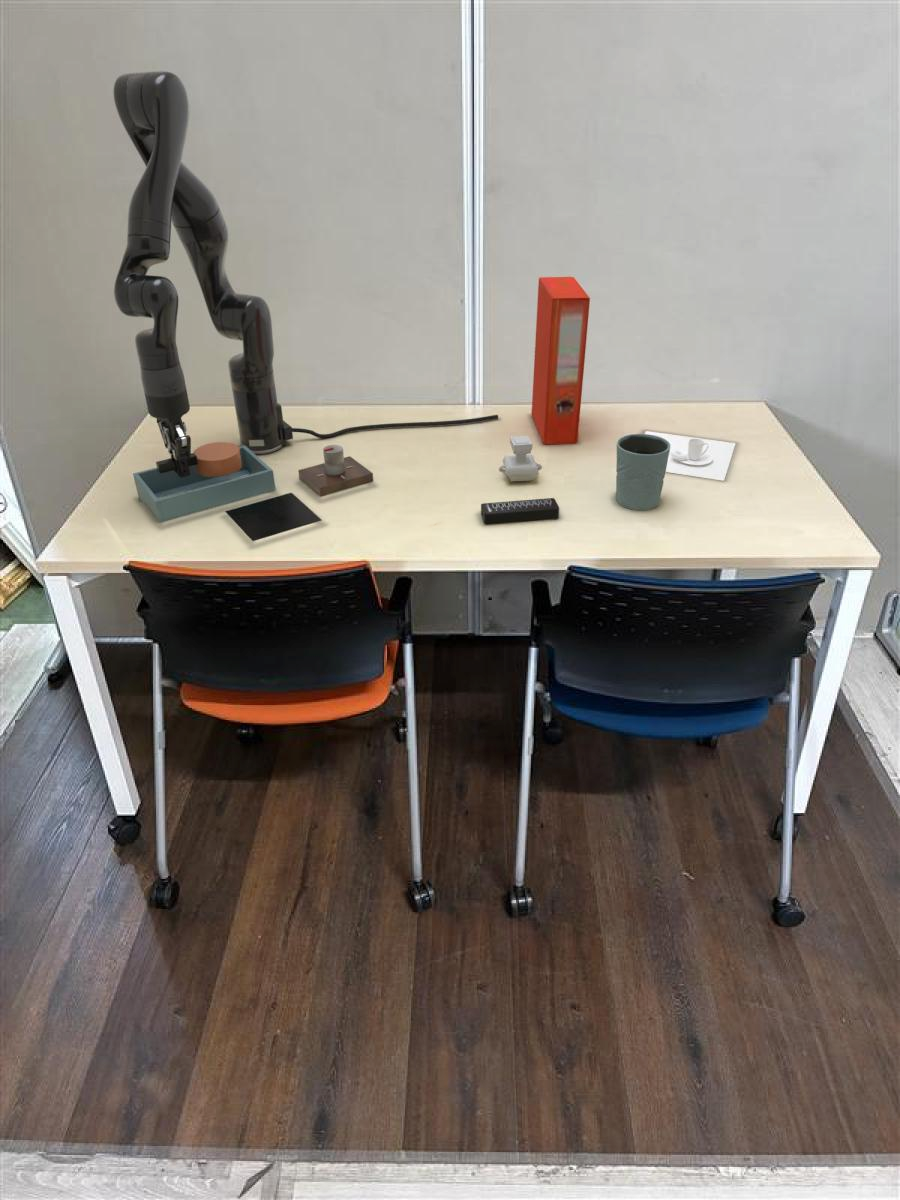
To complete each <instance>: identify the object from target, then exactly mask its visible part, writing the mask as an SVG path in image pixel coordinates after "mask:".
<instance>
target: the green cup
mask: <svg viewBox="0 0 900 1200" xmlns="http://www.w3.org/2000/svg"><path fill="white" fill-rule="evenodd" d="M669 452H670V443H669V442H668V441H667V440H665V439H663V438H661V437H658V436H654V435H649V434H645V433H633V434H627V435H624V436H621V437H620V438H619V439H617V442H616V477H615V478H616V481H615V502H616V503H617V504H618V505H619V506H620V507H623V508H625V509H629V510H631V511H649V510H653V509H655V508H656V507H658V506H659V504H660V502H661V496H662V492H663V487H664V482H665V481H664V480H665V477H666V473H667V472H666V467H667V462H668V457H669Z"/></svg>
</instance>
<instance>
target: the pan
mask: <svg viewBox="0 0 900 1200" xmlns="http://www.w3.org/2000/svg"><path fill="white" fill-rule="evenodd" d="M239 447H240V446H239V445H237V444H235V443H233V442H228V441H216V442H209V443H205V444H203V445H200V446H198V447H197V448H195V449H194V450H193V452H191V458H187V461H188V466H193V465H195V467H196V471H197V473H199V474H200V475H203V476H207V477H220V476H226V475H230V474H233V473H235V472H237V471H238V470H239V469H240V468H241V467H242V461H241V455H240V449H239ZM155 464H156V468H157V470H158V471H159V472H160V473H165V472H169V471H173V470H177V468H176V463H175V459H174V458H171V457H170V458H165V459H162V460H158V461H156V462H155Z"/></svg>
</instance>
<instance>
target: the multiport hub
mask: <svg viewBox="0 0 900 1200" xmlns="http://www.w3.org/2000/svg"><path fill="white" fill-rule="evenodd" d="M480 516H481V517H480V518H481V519H482V522H483V525H485V526H486V525H488V526H489V525H501V524H513V523H523V522H538V521H549V520H558V519H559V518H560V506H559V503H558V502H557V500H556V498H554V497H548V498H547V497H546V498H536V499H523V500H510V501H509V500H508V501H497V502H484V503H483V502H482V503H481V504H480Z"/></svg>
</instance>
